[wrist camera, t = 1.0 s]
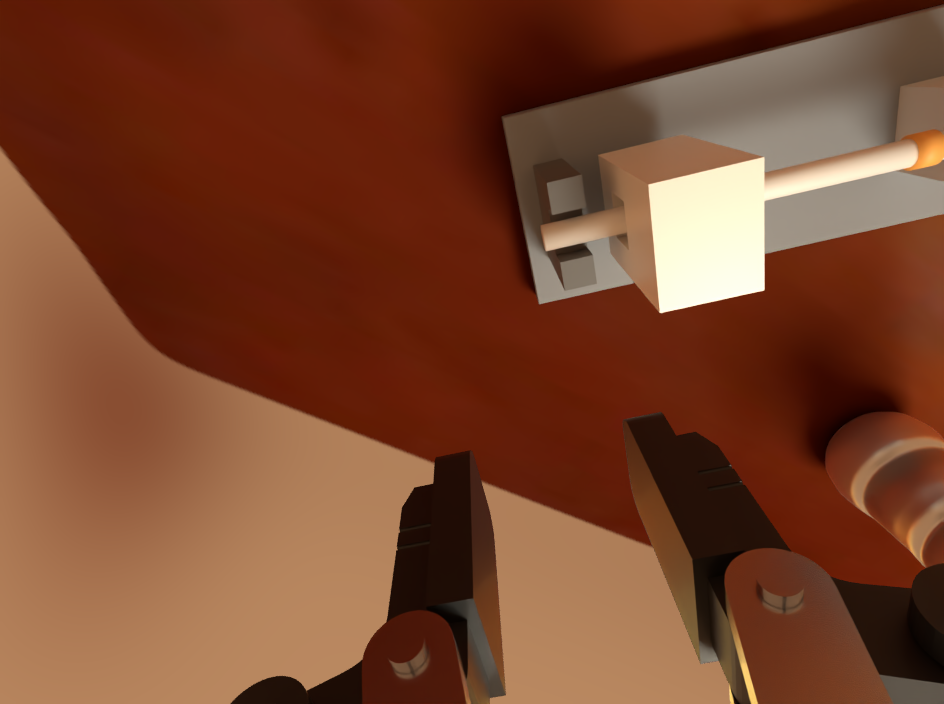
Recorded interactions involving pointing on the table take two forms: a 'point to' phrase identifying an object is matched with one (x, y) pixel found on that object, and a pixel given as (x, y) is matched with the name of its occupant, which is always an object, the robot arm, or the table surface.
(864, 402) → the table surface
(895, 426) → the plastic bottle
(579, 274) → the rod slider fixture
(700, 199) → the sleeve
